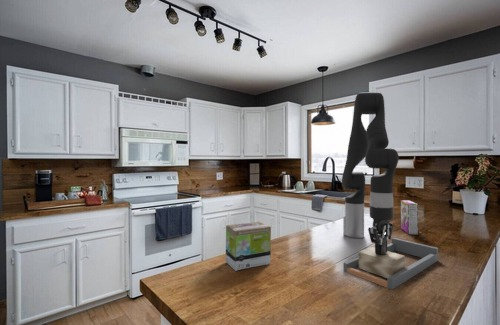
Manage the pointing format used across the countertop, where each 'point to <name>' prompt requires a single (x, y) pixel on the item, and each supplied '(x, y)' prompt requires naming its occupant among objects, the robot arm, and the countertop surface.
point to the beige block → (381, 261)
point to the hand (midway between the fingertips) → (381, 253)
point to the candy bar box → (409, 217)
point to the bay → (416, 249)
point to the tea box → (248, 245)
